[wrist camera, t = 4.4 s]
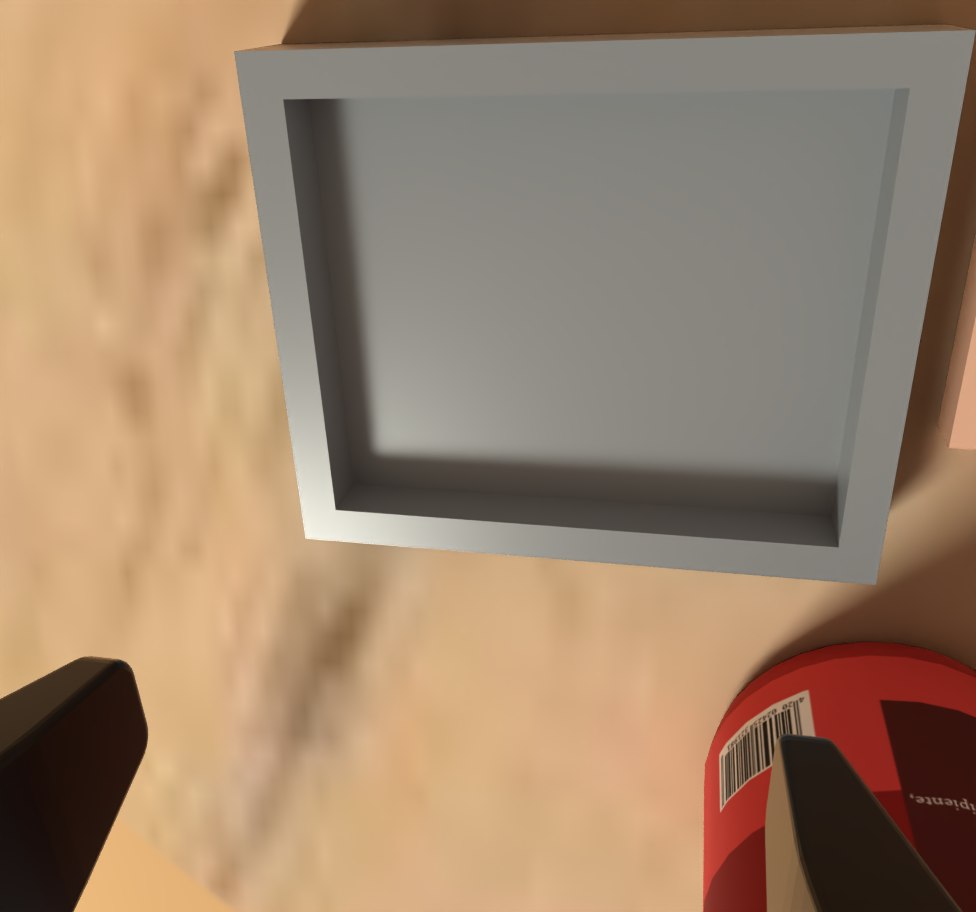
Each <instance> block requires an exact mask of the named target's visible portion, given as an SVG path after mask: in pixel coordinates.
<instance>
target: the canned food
mask: <svg viewBox="0 0 976 912" xmlns="http://www.w3.org/2000/svg"><path fill="white" fill-rule="evenodd" d="M783 734H796V735H805V736H814V737H823V738H827V739H830V740H831V741H832V742H834V743H835V744H836V745H837V746H838V748H839V749H840V750H841V752H842V753H843V754H844V756H845V757H846V758H847V760H848V761H849V762H850V764H851V765H852V766H853V768H854V769H855V770H856V771H857V773H858V774H859V775H860V777H861V778H862V779H863V781H864V782H865V783H866V785H867V786H868V787H869V789H870V790H871V791H872V793H873V794H874V795H875V797H876V798H877V799H878V801H879V802H880V803H881V805H882V806H883V807H884V809H885V810H886V811H887V813H888V814H889V815H890V817H891V818H892V819H893V821H894V822H895V823H896V824H897V826H898V827H899V828H900V830H901V831H902V832H903V834H904V835H905V836H906V838H907V839H908V840H909V842H910V843H911V844H912V846H913V847H914V848H915V850H916V851H917V852H918V854H919V855H920V856H921V858H922V859H923V860H924V862H925V863H926V864H927V866H928V867H929V868H930V870H931V871H932V872H933V873H934V875H935V876H936V877H937V879H938V880H939V881H940V883H941V884H942V885H943V887H944V888H945V889H946V891H947V892H948V893H949V895H950V896H951V897H952V899H953V900H954V901H955V903H956V904H957V905H958V907H959V908H960V909H961V911H962V912H976V672H975V671H974V670H972V669H970V668H969V667H967V666H966V665H964V664H962V663H961V662H959V661H957V660H954V659H952V658H949V657H946V656H944V655H941V654H939V653H936V652H934V651H931V650H927V649H923V648H918V647H913V646H908V645H903V644H898V643H879V642H858V643H849V644H840V645H831V646H828V647H824V648H820V649H817V650H813V651H809V652H806V653H802V654H800V655H797V656H795V657H793V658H791V659H789V660H786V661H784V662H782V663H780V664H778V665H775V666H774V667H772V668H771V669H769V670H768V671H766V672H765V673H764V674H762V675H761V676H759V677H758V678H756V679H755V680H753V681H752V682H751V683H750V684H749V685H748V686H747V687H746V688H745V689H744V690H743V691H742V692H741V693H740V694H739V695H738V696H737V697H736V698H735V700H734V701H733V702H732V704H731V706H730V707H729V709H728V711H727V712H726V714H725V715H724V717H723V719H722V720H721V722H720V725H719V727H718V729H717V732H716V734H715V736H714V739H713V741H712V744H711V747H710V750H709V754H708V757H707V760H706V763H705V781H704V879H703V912H767V888H766V847H765V821H766V808H767V800H768V793H769V786H770V778H771V771H772V764H773V757H774V750H775V744H776V741H777V739H778V738H779V736H781V735H783Z"/></svg>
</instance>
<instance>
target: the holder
mask: <svg viewBox="0 0 976 912" xmlns="http://www.w3.org/2000/svg"><path fill="white" fill-rule="evenodd" d="M938 428H939V430H940V432H941V434H942V436H943V438H944V440H945V442H946V444H947V446H948V448H955V449H974V450H976V234H975V239H974V244H973V249H972V254H971V259H970V264H969V269H968V274H967V279H966V284H965V289H964V294H963V299H962V304H961V309H960V315H959V320H958V325H957V330H956V335H955V340H954V345H953V350H952V355H951V360H950V365H949V370H948V375H947V380H946V385H945V390H944V395H943V400H942V406H941V411H940V416H939V421H938Z"/></svg>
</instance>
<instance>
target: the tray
mask: <svg viewBox="0 0 976 912" xmlns="http://www.w3.org/2000/svg"><path fill="white" fill-rule="evenodd" d="M975 33H976V30H973V29H968V28H963V27H958V26H953V25H948V24H932V25H899V26H866V27H833V28H800V29H767V30H734V31H701V32H668V33H635V34H602V35H569V36H536V37H503V38H470V39H437V40H404V41H371V42H338V43H305V44H278V45H272V46H266V47H259V48H253V49H247V50H241V51H235V52H234V54H235V61H236V67H237V74H238V81H239V88H240V95H241V101H242V108H243V115H244V122H245V129H246V136H247V142H248V149H249V156H250V163H251V170H252V176H253V183H254V190H255V197H256V204H257V210H258V217H259V224H260V231H261V238H262V245H263V251H264V258H265V265H266V272H267V279H268V285H269V292H270V299H271V306H272V313H273V319H274V326H275V333H276V340H277V347H278V354H279V360H280V367H281V374H282V381H283V388H284V394H285V401H286V408H287V415H288V422H289V428H290V435H291V442H292V449H293V456H294V463H295V469H296V476H297V483H298V490H299V497H300V503H301V510H302V517H303V524H304V531H305V537H306V539H316V540H329V541H341V542H353V543H365V544H378V545H390V546H402V547H415V548H427V549H439V550H451V551H464V552H476V553H488V554H501V555H513V556H525V557H538V558H550V559H562V560H574V561H587V562H599V563H611V564H624V565H636V566H648V567H660V568H673V569H685V570H697V571H710V572H722V573H734V574H747V575H759V576H771V577H783V578H796V579H808V580H820V581H833V582H845V583H857V584H869V585H876V582H877V576H878V571H879V565H880V560H881V554H882V549H883V543H884V538H885V532H886V526H887V521H888V515H889V510H890V504H891V499H892V493H893V488H894V482H895V477H896V471H897V465H898V460H899V454H900V449H901V443H902V438H903V432H904V427H905V421H906V416H907V410H908V404H909V399H910V393H911V388H912V382H913V377H914V371H915V366H916V360H917V355H918V349H919V343H920V338H921V332H922V327H923V321H924V316H925V310H926V305H927V299H928V294H929V288H930V282H931V277H932V271H933V266H934V260H935V255H936V249H937V244H938V238H939V233H940V227H941V221H942V216H943V210H944V205H945V199H946V194H947V188H948V183H949V177H950V172H951V166H952V160H953V155H954V149H955V144H956V138H957V133H958V127H959V122H960V116H961V111H962V105H963V99H964V94H965V88H966V83H967V77H968V72H969V66H970V61H971V55H972V50H973V44H974V38H975Z"/></svg>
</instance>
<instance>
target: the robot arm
mask: <svg viewBox="0 0 976 912" xmlns="http://www.w3.org/2000/svg"><path fill="white" fill-rule="evenodd" d="M147 741H148V727H147V722H146V718H145V714H144V710H143V707H142V703H141V699H140V695H139V691H138V688H137V684H136V680H135V676H134V673H133V670H132V668H131V667H130V666H129V665H128V664H127V662H124V661H122V660H119V659H111V658H101V657H92V656H90V657H82V658H79V659H77V660H74V661H73V662H71V663H69V664H67V665H65V666H63V667H61V668H59V669H57V670H55V671H53V672H51V673H49V674H48V675H46V676H44V677H42V678H40V679H38V680H36V681H34V682H32V683H30V684H28V685H26V686H24V687H23V688H21V689H19V690H17V691H15V692H13V693H11V694H9V695H7V696H5V697H3V698H1V699H0V912H74V910H75V908H76V905H77V903H78V901H79V899H80V897H81V895H82V893H83V890H84V889H85V887H86V885H87V883H88V880H89V878H90V876H91V874H92V871H93V869H94V867H95V864H96V862H97V860H98V857H99V856H100V853H101V851H102V849H103V846H104V844H105V842H106V840H107V837H108V835H109V833H110V831H111V828H112V826H113V824H114V822H115V820H116V817H117V815H118V813H119V811H120V808H121V806H122V804H123V802H124V799H125V797H126V795H127V793H128V790H129V788H130V786H131V784H132V781H133V779H134V777H135V775H136V772H137V770H138V768H139V766H140V763H141V761H142V759H143V756H144V754H145V750H146V747H147ZM765 847H766V888H767V912H962V911H961V909H960V908H959V907H958V905H957V904H956V903H955V901H954V900H953V899H952V897H951V896H950V895H949V893H948V892H947V891H946V889H945V888H944V887H943V885H942V884H941V883H940V881H939V880H938V879H937V877H936V876H935V875H934V873H933V872H932V871H931V870H930V868H929V867H928V866H927V864H926V863H925V862H924V860H923V859H922V858H921V856H920V855H919V854H918V852H917V851H916V850H915V848H914V847H913V846H912V844H911V843H910V842H909V840H908V839H907V838H906V836H905V835H904V834H903V832H902V831H901V830H900V828H899V827H898V826H897V824H896V823H895V822H894V821H893V819H892V818H891V817H890V815H889V814H888V813H887V811H886V810H885V809H884V807H883V806H882V805H881V803H880V802H879V801H878V799H877V798H876V797H875V795H874V794H873V793H872V791H871V790H870V789H869V787H868V786H867V785H866V783H865V782H864V781H863V779H862V778H861V777H860V775H859V774H858V773H857V771H856V770H855V769H854V768H853V766H852V765H851V764H850V762H849V761H848V760H847V758H846V757H845V756H844V754H843V753H842V752H841V750H840V749H839V748H838V746H837V745H836V744H835V743H834V742H832V741H831V740H830V739H827V738H823V737H814V736H805V735H796V734H783V735H781V736H779V738H778V739H777V741H776V744H775V750H774V757H773V764H772V771H771V778H770V786H769V793H768V800H767V808H766V821H765Z"/></svg>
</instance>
